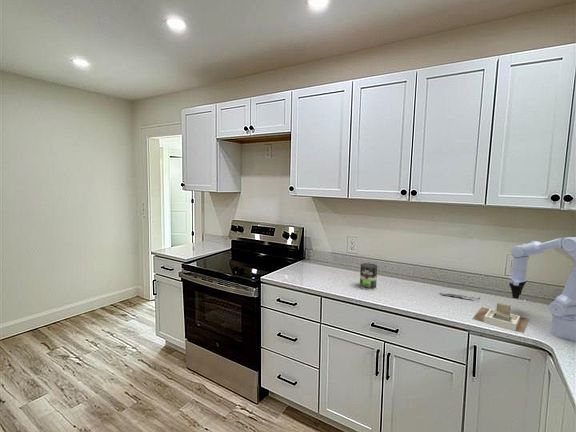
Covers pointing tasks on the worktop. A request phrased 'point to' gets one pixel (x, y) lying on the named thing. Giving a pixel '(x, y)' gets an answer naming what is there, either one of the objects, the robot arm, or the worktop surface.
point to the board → (480, 317)
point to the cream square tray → (502, 320)
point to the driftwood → (458, 296)
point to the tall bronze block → (503, 310)
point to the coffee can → (368, 276)
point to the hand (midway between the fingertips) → (516, 296)
